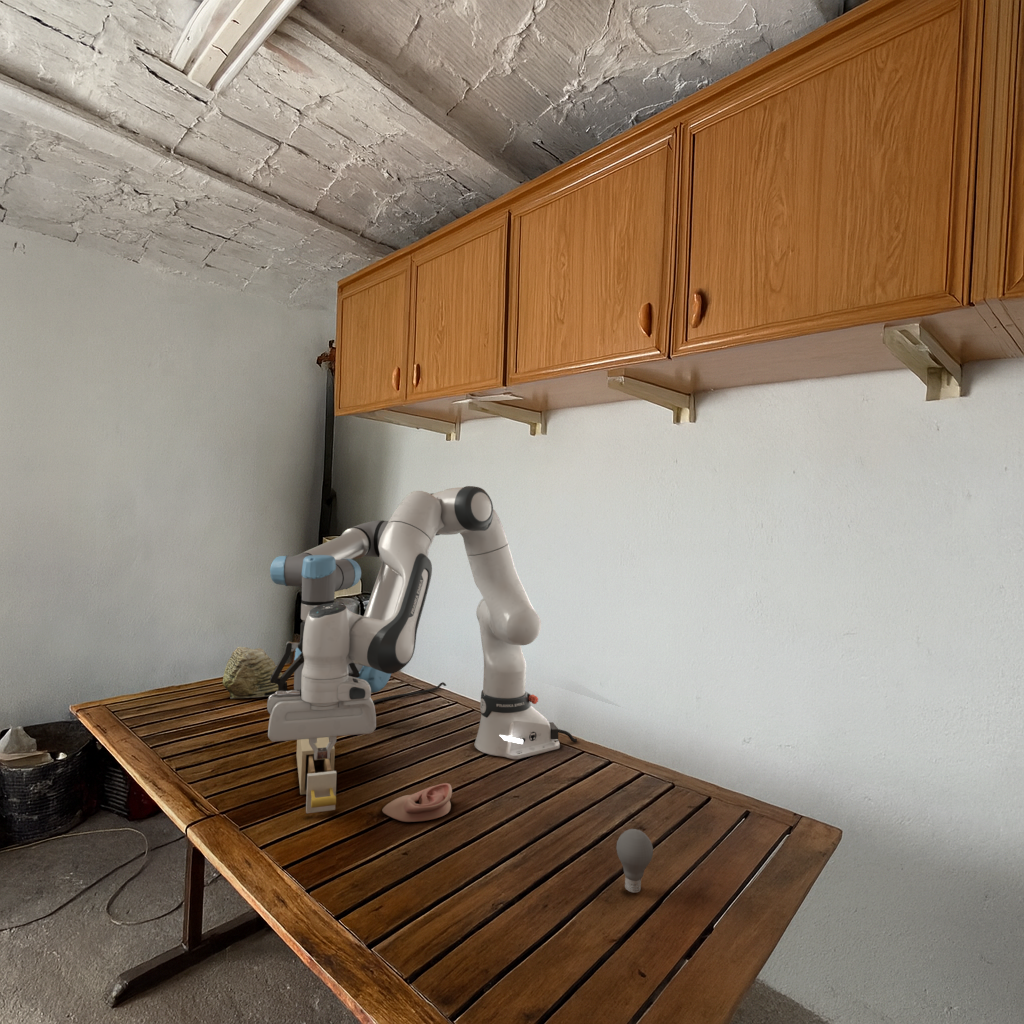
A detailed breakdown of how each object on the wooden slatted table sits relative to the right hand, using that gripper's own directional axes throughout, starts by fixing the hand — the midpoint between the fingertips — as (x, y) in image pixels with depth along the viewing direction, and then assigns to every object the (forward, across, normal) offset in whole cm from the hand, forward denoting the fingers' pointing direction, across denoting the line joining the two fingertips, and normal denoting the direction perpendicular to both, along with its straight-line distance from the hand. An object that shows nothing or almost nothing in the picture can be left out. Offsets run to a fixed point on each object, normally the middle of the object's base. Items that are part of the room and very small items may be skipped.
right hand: (321, 758), depth 124 cm
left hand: (0, 0, +29) cm, 29 cm away
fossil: (+12, -14, +84) cm, 86 cm away
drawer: (+11, 0, +9) cm, 15 cm away
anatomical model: (+12, +19, -1) cm, 23 cm away
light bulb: (+12, +48, -38) cm, 62 cm away
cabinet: (+12, 0, +23) cm, 26 cm away
